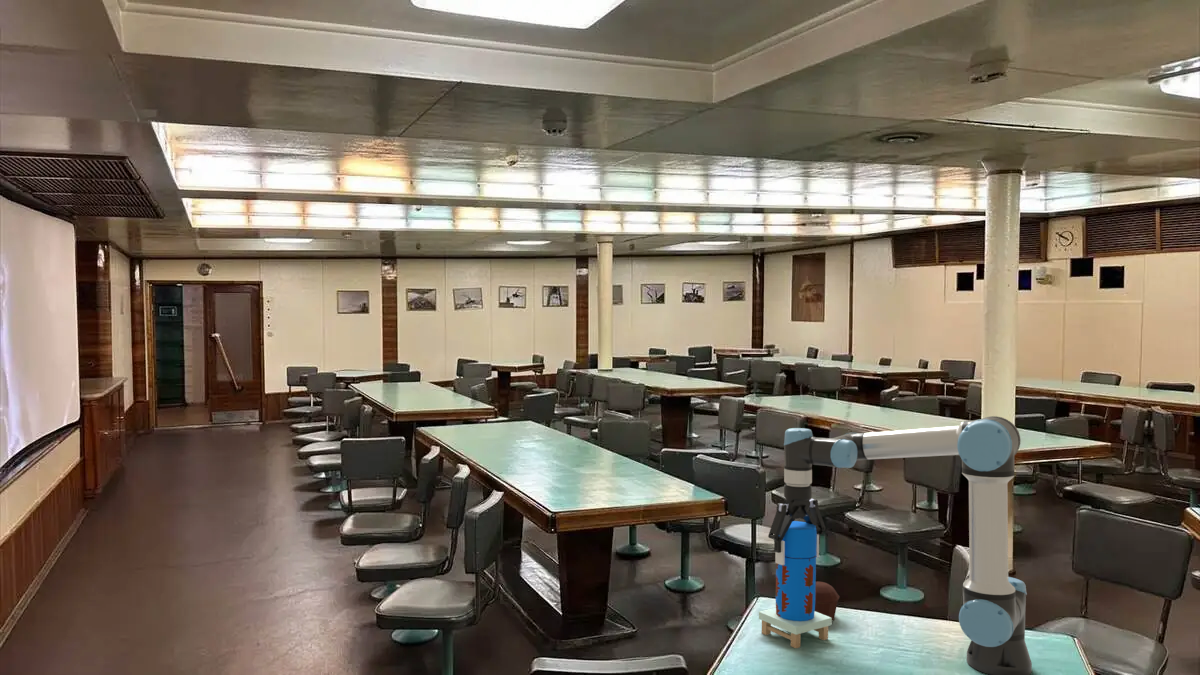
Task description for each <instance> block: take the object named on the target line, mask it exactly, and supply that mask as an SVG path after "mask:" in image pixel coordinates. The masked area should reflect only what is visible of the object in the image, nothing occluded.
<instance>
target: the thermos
mask: <svg viewBox="0 0 1200 675" xmlns="http://www.w3.org/2000/svg"><path fill="white" fill-rule="evenodd" d="M779 536H780V535H779ZM816 536H817V532H816V526H815V525H814V524H810V523H806V521H798V520H794V521H793V522H792V523H791V525H790V527H789V529H788V531H787V532H786V534H785V536H784V538H783V541H785V565H780V564H777V563H775V567H776V568H775V608H776V614H777V615H778V616H779V617H781V618H784V619H787V620H792V621H808V620H812V619H813V618H814V612H815V591H816V582H817V581H816V580H817V576H816V575H817V558H816Z"/></svg>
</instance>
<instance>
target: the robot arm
mask: <svg viewBox="0 0 1200 675" xmlns="http://www.w3.org/2000/svg"><path fill="white" fill-rule="evenodd" d="M783 442H784V443H783V446H784V447H783V448H784V449H783V453H784V454H783V455H784V461H783V462H784V464H783V465H784V466H783V467H784V469H783V471H784V472H783V474H784V475H783V477H784V479H783V481H784V483H785V484H784V486H783V497H784V498H785V500H786V501H785V503H780V502H779V503H777V505H776V512H775V515H774V518H773V521H772V524H771V526H770V529H769V533H768V536H767V537H768V538H769V539H771V540H773V542H774V543H773V546H774V548H773V549H774V550H773V551H774V553H775V555H774V556H775V558H774V560H775V561H774V562H775V564H776V563H777V564H780V565H785V541H783V538H784V536H785V534H786V532H787V531H788V529H789V527H790V525H791V523H792V522H793V521H796V519H800V518H801V519H804V522H806V523H810V524H814V525H815V526H816V532H817V536H816V559H818V558H820V556H819V554H820V552H819V551H820V544H821V535H823V534H824V532H825V531H826V526H825V522H824V520H823V519H824V518H823V516H822V514H821V510H820V509H819V508H820V507H819V503H818V502H819V501H818V499H816V498H812V497H813V495H812V492H813V489H812V488H813V487H812V483H813V465H814V466H824V467H825V466H827V467H833V468H838V469H843V468H846V469H850V468H853V467H854V466H855V464H856V463H857V461H866V460H867V461H868V460H883V459H885V460H886V459H903V458H920V457H921V458H923V457H939V456H941V457H942V456H959V457H960V459H961V474H962V476H964V477H965V478H966V479H967V481H968V531H969V532H968V536H969V537H968V538H969V540H968V542H969V543H968V544H969V545H968V546H969V549H968V550H969V552H968V553H969V557H968V558H969V559H968V560H969V577H968V578H967V579H965V580H964V581H963V584H962V605H961V607H960V610H959V613H958V622H959V626H960V628H961V630H962V633H964V635H965V636H966V637H968V639H969V640H970V642H969V645H968V648H967V649H966V650H967V651H966V663H967V665H969V666H970V667H971V668H973V669H975V670H977V671H979V672H982V673H984V674H987V675H1031V674H1032V670H1033V669H1032V668H1033V666H1032V665H1033V662H1032V660H1031V658H1030V657H1031V656H1030V653H1029V651H1028V646H1027V644H1026V641H1025V640H1026V638H1025V637H1026V634H1025V633H1026V632H1025V631H1026V606H1027V604H1026V603H1027V602H1026V601H1027V598H1026V597H1027V595H1028V593H1027V588H1026V587H1027V586H1026V584H1025V582H1024V581H1023V580H1020V579H1018V578H1016V577H1011V576H1009V522H1008V521H1009V515H1008V512H1009V511H1008V510H1009V509H1008V508H1009V507H1008V504H1009V502H1008V501H1009V500H1008V499H1009V496H1008V489H1009V488H1008V483H1009V482H1010V481H1011V480H1012V479H1014V478H1015V456H1016V455H1017V453H1018V451H1019V449H1020V447H1021V442H1022V441H1021V435H1020V432H1019V430H1018V428H1017V427H1016V425H1015V424H1014V423H1013V422H1011V421H1010V420H1009V419H1006V418H1004V417H1001V416H997V415H995V416H994V415H993V416H986V417H983V418H981V419H980V418H979V419H973V420H966V421H965V420H964V421H962V422H960V424H959V425H951V426H950V425H949V426H937V427H924V428H923V427H922V428H911V429H898V430H883V431H871V432H847V433H845V434H842V435H839V436H836V437H832V438H830V437H829V438H828V437H818V436H817V437H816V436H814V434H813V431H812V429H810V428H804V427H802V428H801V427H792V428H788V429H786V430H785V432H784V441H783ZM779 535H780V536H779Z"/></svg>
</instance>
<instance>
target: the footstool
mask: <svg viewBox="0 0 1200 675" xmlns="http://www.w3.org/2000/svg"><path fill="white" fill-rule="evenodd" d="M758 619H759V620H760V621H761V634H762V635H764V636H769V635H772V633H775V634H776V635H778V636H781V637H783V638H785V639H788V640H790V647H791V648H794V649H798V648H801V634H804V633H808V632H811V631H815V632H817V633H818V639H819V640H822V641H826V640H828V639H829V626H832V623H833V621H832V618H831V617H828V616H826V615H823V614H821V613H818V612H816V611H815V612H814V618H813V619H812V620H808V621H792V620H787V619H784V618H781V617H779V616H778V615H777V614H776V607H773V608H769V609H765V610H761V611H758ZM776 627H777V628H776ZM779 628H780V629H779ZM788 632H789V633H788Z"/></svg>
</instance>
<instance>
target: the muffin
mask: <svg viewBox="0 0 1200 675" xmlns="http://www.w3.org/2000/svg"><path fill="white" fill-rule="evenodd" d="M839 600H840V595H839V593H838V592H837V591H836V589H835V588H834V587H833V586H832V585H830V584H829V583H827V582H824V581H816V591H815V611H816V612H818V613H821V614H823V615H826V616H828V617H831V618H832V620H833V621H835V617H836V611H837V605H838V601H839Z"/></svg>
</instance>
